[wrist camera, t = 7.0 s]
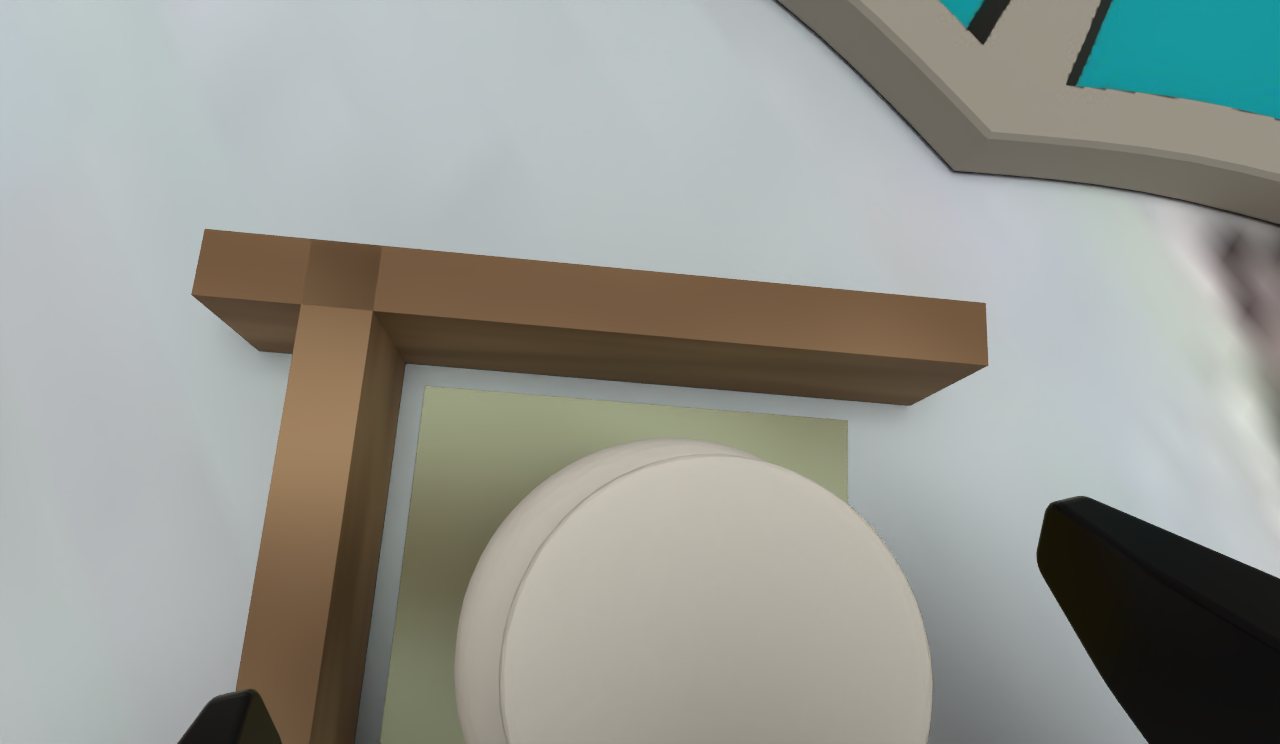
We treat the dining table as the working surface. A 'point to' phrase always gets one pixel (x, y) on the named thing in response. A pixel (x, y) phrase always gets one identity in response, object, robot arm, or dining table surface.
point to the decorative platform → (1081, 88)
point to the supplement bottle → (689, 611)
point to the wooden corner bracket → (505, 426)
